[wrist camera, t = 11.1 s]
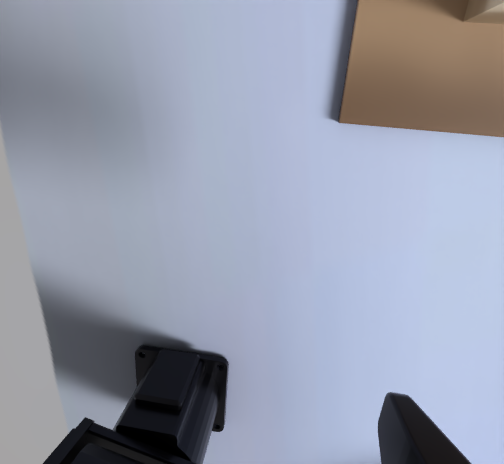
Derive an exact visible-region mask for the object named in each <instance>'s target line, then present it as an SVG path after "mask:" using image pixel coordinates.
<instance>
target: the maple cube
mask: <svg viewBox="0 0 504 464" xmlns="http://www.w3.org/2000/svg"><path fill="white" fill-rule="evenodd" d="M463 22H473V23H491V24H504V0H469V2H468V6H467V9H466V13H465V17H464V21H463Z"/></svg>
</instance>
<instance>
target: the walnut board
mask: <svg viewBox="0 0 504 464" xmlns="http://www.w3.org/2000/svg"><path fill="white" fill-rule="evenodd" d="M468 2H469V0H358V2H357V8H356V14H355V21H354V27H353V33H352V39H351V46H350V52H349V58H348V64H347V71H346V77H345V83H344V90H343V96H342V102H341V108H340V115H339V121H338V122H339V123H347V124H359V125H370V126H381V127H393V128H404V129H416V130H427V131H439V132H450V133H462V134H473V135H485V136H496V137H504V24H491V23H473V22H463V21H464V17H465V13H466V9H467V6H468Z"/></svg>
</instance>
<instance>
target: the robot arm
mask: <svg viewBox="0 0 504 464" xmlns="http://www.w3.org/2000/svg"><path fill="white" fill-rule="evenodd" d="M142 352H143V353H145V354H143V353H142ZM135 361H136V379H137V388H136V390H135V392H134V393H133V395H132V397H131V399H130V400H129V402H128V404H127V406H126V407H125V409H124V411H123V413H122V414H121V416H120V418H119V419H118V421H117V423H116V425H115V426H114V428H113V430H111V429H108V428H106V427H103V426H101V425H98V424H96V423H94V421H93V420H91V419H88V418H86V417H85V418H84V419H83V420H82V422H81V423H80V424H79V425H78V426H77V427H76V429H74V428H73V429H72V430H71V431H70V433H69V434H68V435H67V436H66V437H65V438H64V440H63V441H62V442H61V443H60V444H59V445H58V447H57V448H56V449H55V450H54V451H53V452H52V453H51V455H50V456H49V457H48V458H47V459H46V460H45V462H44V463H43V464H203V460H204V457H205V453H206V450H207V446H208V442H209V439H210V435H211V431H215V432H220V431H222V430H223V428H224V425H225V413H226V397H227V382H228V367H229V364H228V361H227V360H226V359H225V358H222V357H215V356H209V355H203V354H196V353H190V352H183V351H177V350H171V349H164V348H158V347H152V346H145V345H141V346H139V347H138V349H137V350H136V352H135ZM219 365H223V366H219ZM378 437H379V446H380V455H381V464H471V463H470V462H469V460H468V459H467V458H466V457H465V456H464V455H463V454H462V453H461V452H460V451H459V450H458V448H457V447H456V446H455V445H454V444H453V443H452V442H451V441H450V440H449V439H448V438H447V437H446V435H445V434H444V433H443V432H442V431H441V430H440V429H439V428H438V427H437V426H436V425H435V423H434V422H433V421H432V420H431V419H430V418H429V417H428V416H427V415H426V414H425V413H424V411H423V410H422V409H421V408H420V407H419V406H418V405H417V404H416V403H415V402H414V401H413V400H412V398H410V397H409V396H408V395H405V394H399V393H393V392H389V393H387V395H386V396H385V399H384V403H383V406H382V410H381V413H380V417H379V421H378Z"/></svg>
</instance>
